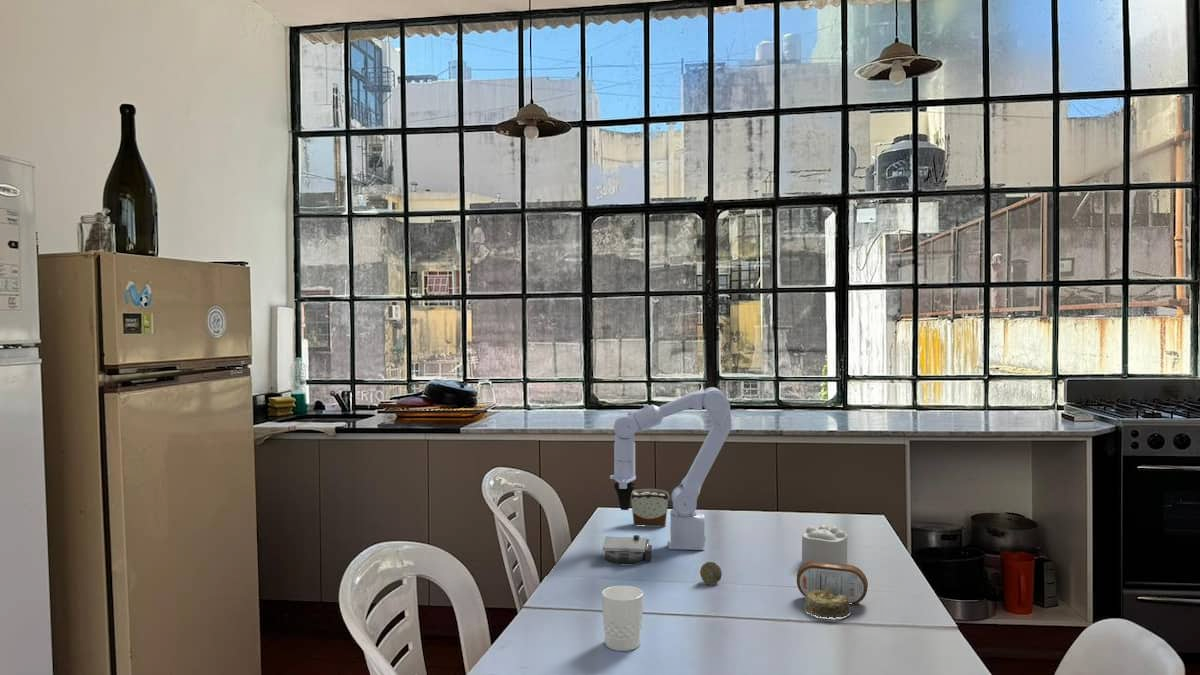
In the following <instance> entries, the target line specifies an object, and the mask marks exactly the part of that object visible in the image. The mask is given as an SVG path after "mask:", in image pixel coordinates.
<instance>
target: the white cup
mask: <svg viewBox="0 0 1200 675" xmlns="http://www.w3.org/2000/svg"><path fill="white" fill-rule="evenodd" d="M601 598H602V599H601V601H602V618H603V622H602V623H603V632H604V643H605V646H606V647H607V648H608V649H610V650H612V651H617V652H628V651H633V650H635V649H638V648H639V647H640V645H641V636H642V635H641V632H642V631H641V630H642V628H643V627H642V624H643V622H642V621H643V605H644V603H643V602H644V591H643V590H642V589H640V588H638V587H635V586H632V585H614V586H610V587H606V588H604V589H603V590H602V591H601Z"/></svg>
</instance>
